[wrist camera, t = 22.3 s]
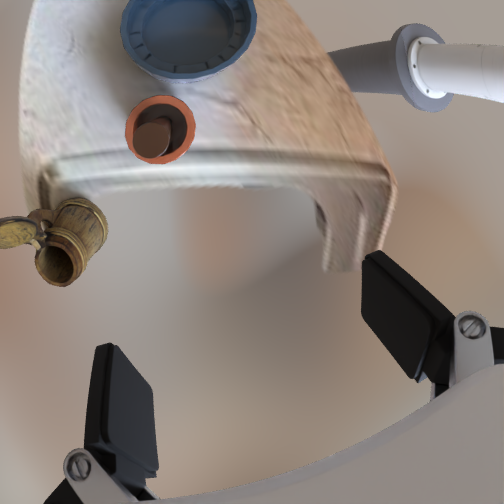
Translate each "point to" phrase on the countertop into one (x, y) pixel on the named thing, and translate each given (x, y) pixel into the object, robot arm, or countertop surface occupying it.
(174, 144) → the holder
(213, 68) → the bowl
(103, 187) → the countertop surface
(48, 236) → the wooden mug
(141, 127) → the stick
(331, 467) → the robot arm
